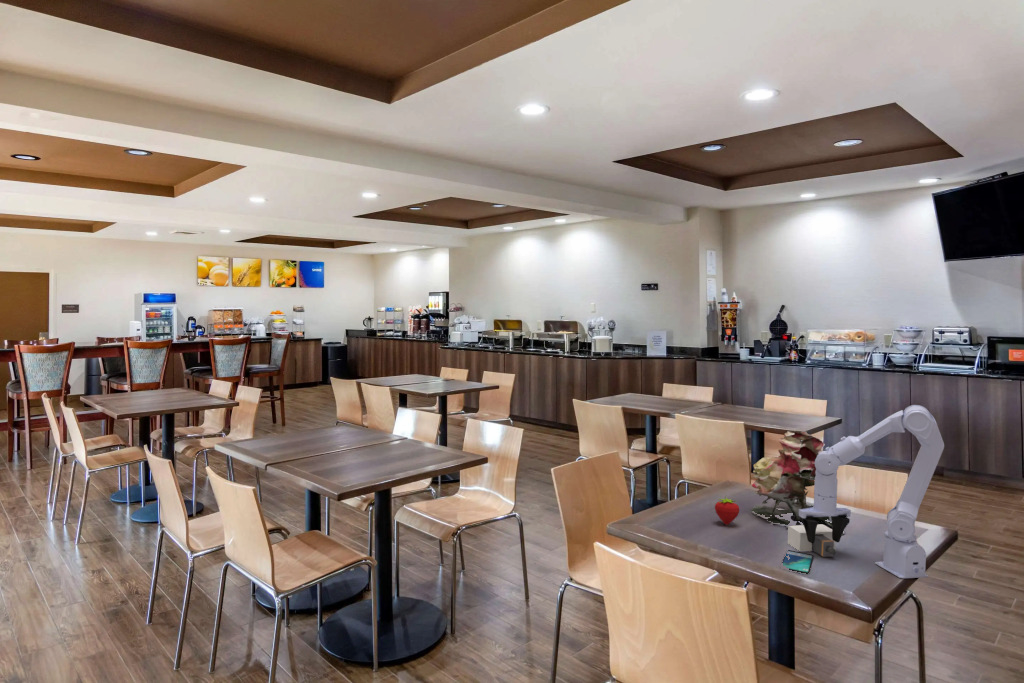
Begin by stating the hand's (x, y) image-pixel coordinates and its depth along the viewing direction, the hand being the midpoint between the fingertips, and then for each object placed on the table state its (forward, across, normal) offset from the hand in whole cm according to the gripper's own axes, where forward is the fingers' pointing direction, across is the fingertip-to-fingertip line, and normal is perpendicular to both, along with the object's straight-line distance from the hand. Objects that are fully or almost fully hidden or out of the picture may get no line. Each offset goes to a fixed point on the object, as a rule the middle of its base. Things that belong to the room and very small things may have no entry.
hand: (823, 541), depth 172 cm
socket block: (+4, 0, -6) cm, 7 cm away
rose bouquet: (+4, -8, -28) cm, 30 cm away
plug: (+4, 0, -1) cm, 4 cm away
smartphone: (+4, +10, +4) cm, 12 cm away
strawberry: (+4, +16, -26) cm, 30 cm away
